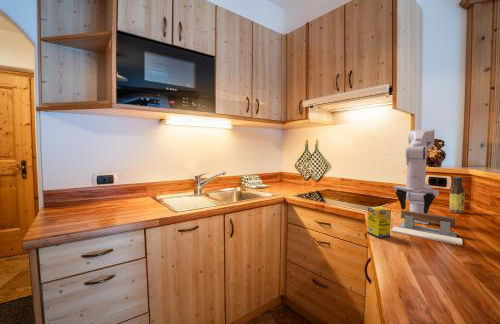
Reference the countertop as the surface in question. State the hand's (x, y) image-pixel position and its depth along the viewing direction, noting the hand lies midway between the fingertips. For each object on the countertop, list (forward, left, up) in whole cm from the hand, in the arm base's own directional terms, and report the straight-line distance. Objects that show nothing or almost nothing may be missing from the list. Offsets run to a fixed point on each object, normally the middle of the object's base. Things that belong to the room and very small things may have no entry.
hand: (414, 210), depth 91 cm
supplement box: (+8, -11, -10) cm, 17 cm away
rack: (-11, +3, -10) cm, 15 cm away
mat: (-3, +3, -10) cm, 11 cm away
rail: (-11, +3, -6) cm, 13 cm away
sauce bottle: (-61, +13, -10) cm, 63 cm away
